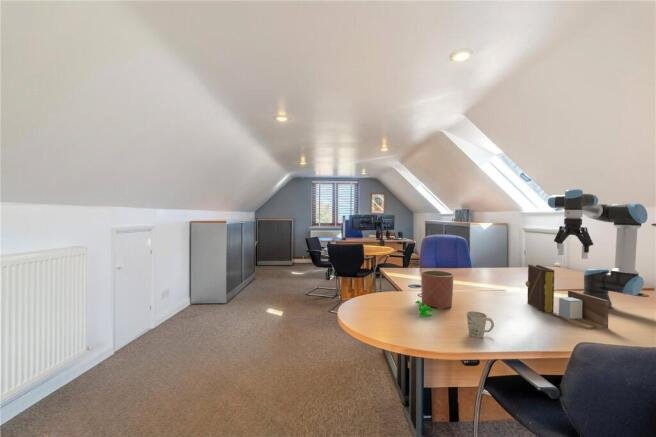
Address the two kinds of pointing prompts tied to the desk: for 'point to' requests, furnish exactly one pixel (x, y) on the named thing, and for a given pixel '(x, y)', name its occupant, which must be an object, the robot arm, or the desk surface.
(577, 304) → the white block
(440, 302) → the planter
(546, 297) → the book
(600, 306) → the wooden bookend
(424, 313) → the figurine
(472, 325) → the mug
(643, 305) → the desk surface
